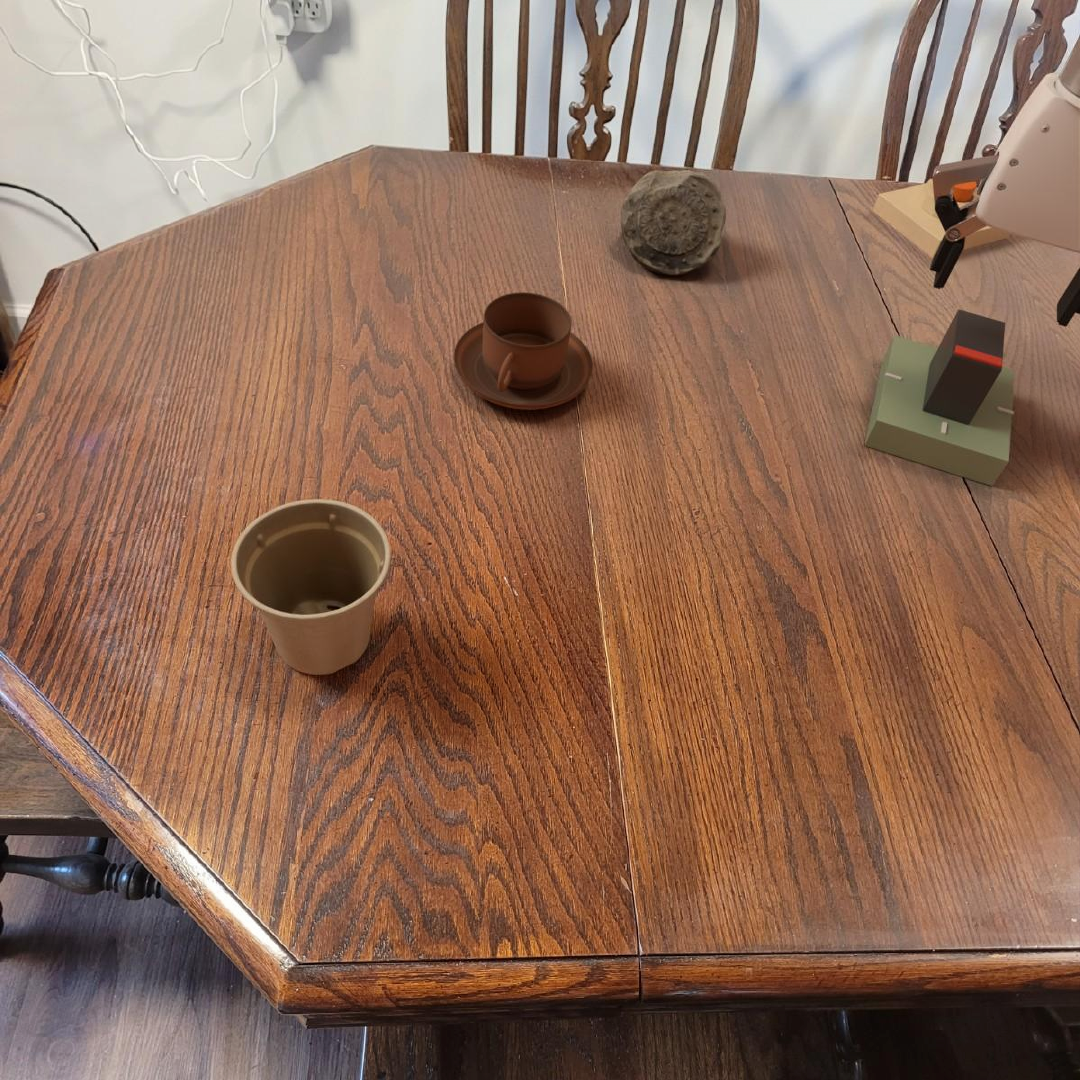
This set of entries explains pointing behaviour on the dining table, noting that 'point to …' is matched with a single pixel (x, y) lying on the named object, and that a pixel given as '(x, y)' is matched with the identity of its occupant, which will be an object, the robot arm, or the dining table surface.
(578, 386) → the cup and saucer
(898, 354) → the stand
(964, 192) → the button
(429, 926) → the dining table surface
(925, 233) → the box
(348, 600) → the flower pot
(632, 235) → the fossil
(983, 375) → the black block
